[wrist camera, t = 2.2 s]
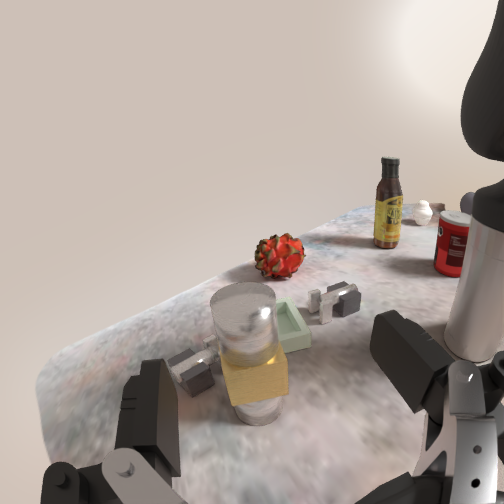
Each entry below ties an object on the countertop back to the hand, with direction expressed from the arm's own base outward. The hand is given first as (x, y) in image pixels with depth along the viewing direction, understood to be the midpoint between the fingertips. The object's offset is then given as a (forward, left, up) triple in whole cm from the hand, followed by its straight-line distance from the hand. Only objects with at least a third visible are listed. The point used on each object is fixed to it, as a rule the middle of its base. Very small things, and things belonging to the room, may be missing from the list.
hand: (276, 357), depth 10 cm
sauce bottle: (-37, -43, -19) cm, 60 cm away
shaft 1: (+5, -18, -19) cm, 26 cm away
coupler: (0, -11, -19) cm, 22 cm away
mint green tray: (-4, -23, -19) cm, 30 cm away
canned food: (-43, -27, -19) cm, 54 cm away
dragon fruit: (-11, -40, -19) cm, 46 cm away
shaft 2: (-15, -25, -19) cm, 35 cm away
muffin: (-56, -51, -19) cm, 78 cm away
